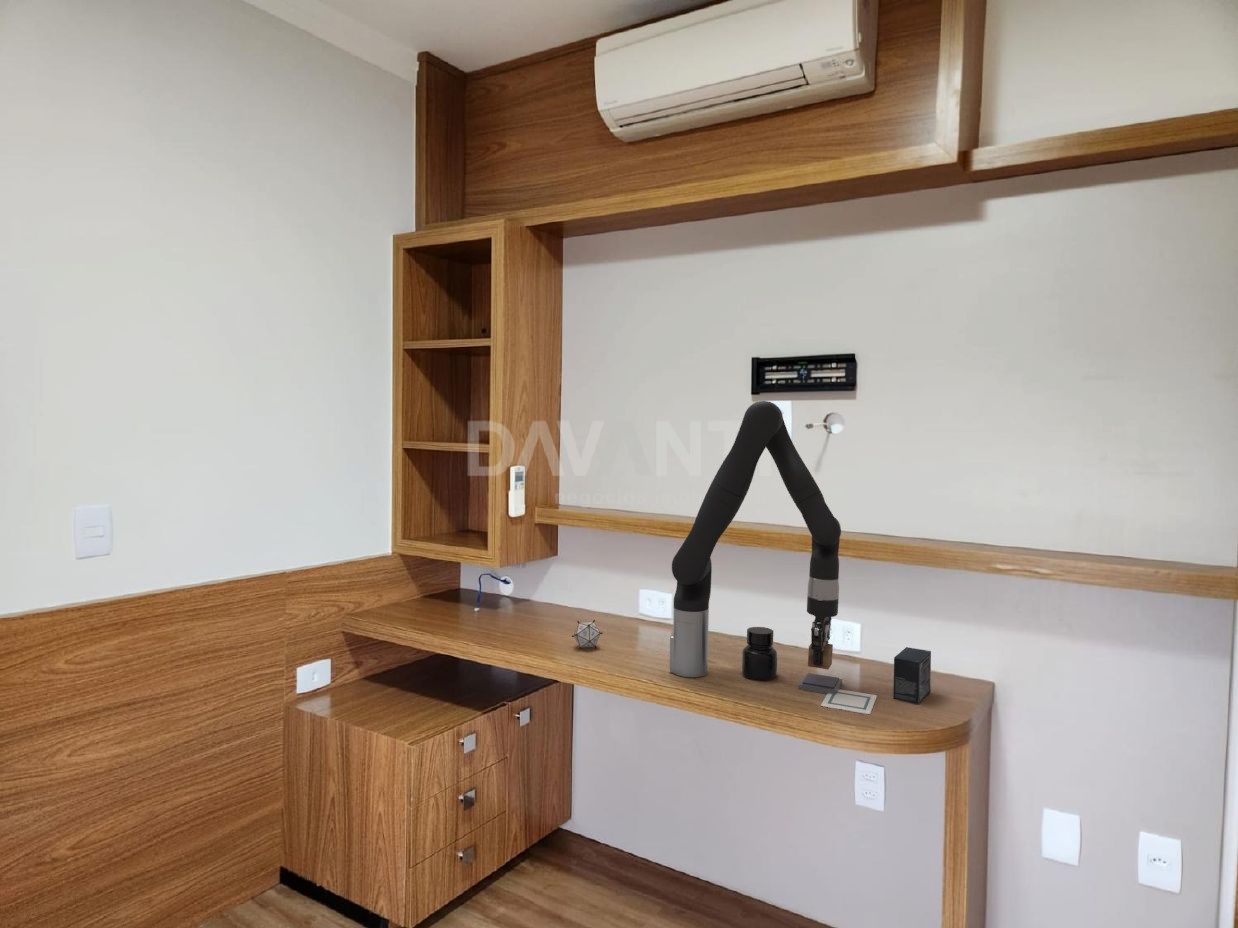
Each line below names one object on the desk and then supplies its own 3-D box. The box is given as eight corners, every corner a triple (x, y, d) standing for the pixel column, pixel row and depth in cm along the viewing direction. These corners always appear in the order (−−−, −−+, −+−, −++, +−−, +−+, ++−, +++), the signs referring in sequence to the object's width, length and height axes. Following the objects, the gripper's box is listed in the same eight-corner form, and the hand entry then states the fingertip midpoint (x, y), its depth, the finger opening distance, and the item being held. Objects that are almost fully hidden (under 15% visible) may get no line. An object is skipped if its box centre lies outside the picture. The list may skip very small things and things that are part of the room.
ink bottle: (784, 675, 196) (785, 630, 196) (766, 684, 190) (767, 637, 189) (752, 667, 203) (753, 623, 202) (734, 675, 196) (735, 629, 195)
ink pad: (798, 689, 186) (799, 682, 186) (806, 678, 194) (806, 671, 194) (836, 695, 182) (836, 688, 182) (842, 683, 190) (842, 677, 190)
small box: (904, 686, 189) (905, 645, 189) (931, 692, 185) (932, 650, 185) (891, 698, 181) (892, 656, 180) (919, 705, 177) (921, 661, 176)
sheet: (820, 706, 175) (820, 705, 175) (830, 688, 187) (830, 687, 187) (870, 714, 170) (870, 713, 170) (876, 696, 182) (876, 694, 182)
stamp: (807, 666, 187) (809, 638, 187) (811, 660, 192) (813, 633, 191) (828, 669, 185) (829, 641, 184) (831, 663, 189) (833, 636, 189)
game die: (589, 658, 220) (605, 628, 224) (595, 656, 212) (611, 625, 216) (563, 643, 220) (579, 613, 223) (567, 641, 212) (584, 610, 216)
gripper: (813, 587, 195) (810, 651, 196) (801, 599, 182) (798, 667, 183) (843, 591, 192) (839, 656, 193) (833, 603, 179) (830, 673, 180)
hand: (819, 661), depth 188 cm, fingers closed on stamp, 5 cm apart
